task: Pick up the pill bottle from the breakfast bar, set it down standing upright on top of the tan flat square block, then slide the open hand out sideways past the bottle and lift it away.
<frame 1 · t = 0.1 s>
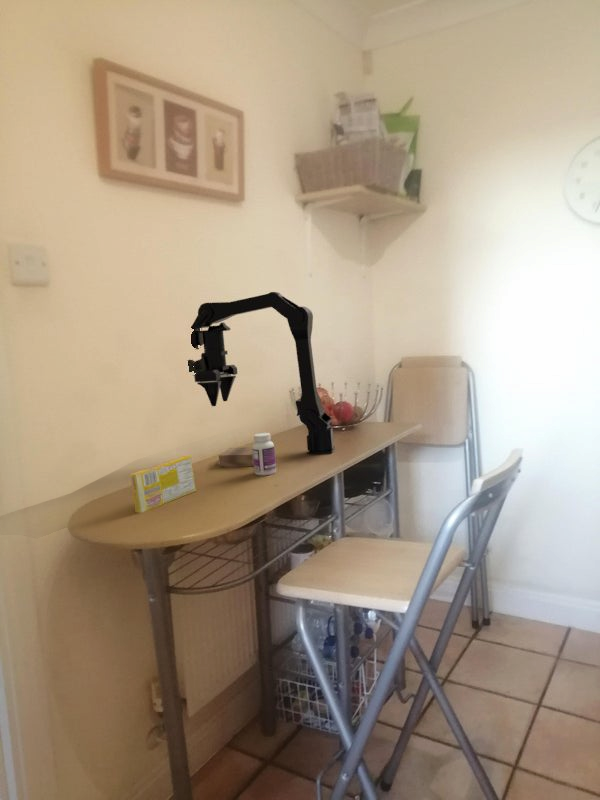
hand: (219, 403, 173), 15 cm above the table, tool pointing down, fingers open, 9 cm apart
pill bottle: (265, 473, 150), on the table
candy box: (166, 502, 132), on the table
tan flat square block: (241, 462, 164), on the table
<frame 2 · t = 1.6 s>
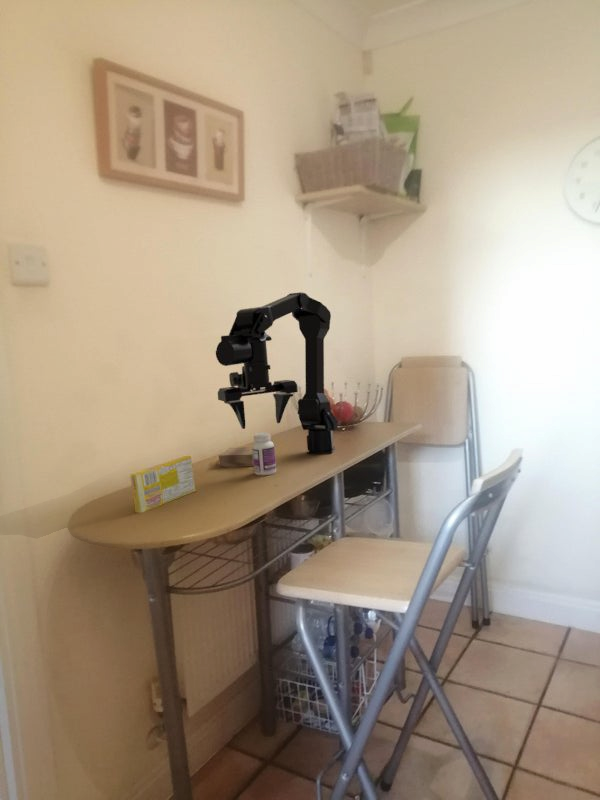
hand: (261, 425, 149), 12 cm above the table, tool pointing down, fingers open, 9 cm apart
nothing on the table moved.
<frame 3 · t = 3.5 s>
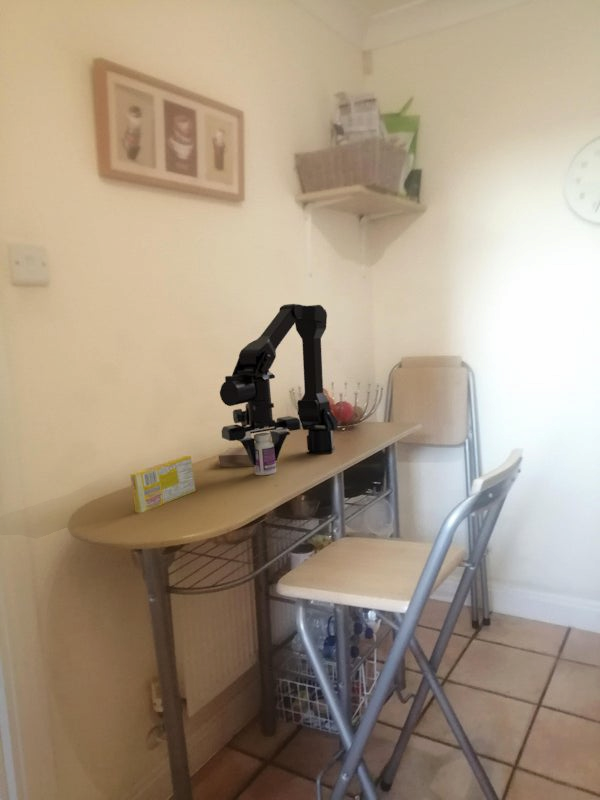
hand: (264, 462, 150), 3 cm above the table, tool pointing down, fingers closed on pill bottle, 5 cm apart
pill bottle: (265, 473, 150), on the table, touching gripper
everything else where it was.
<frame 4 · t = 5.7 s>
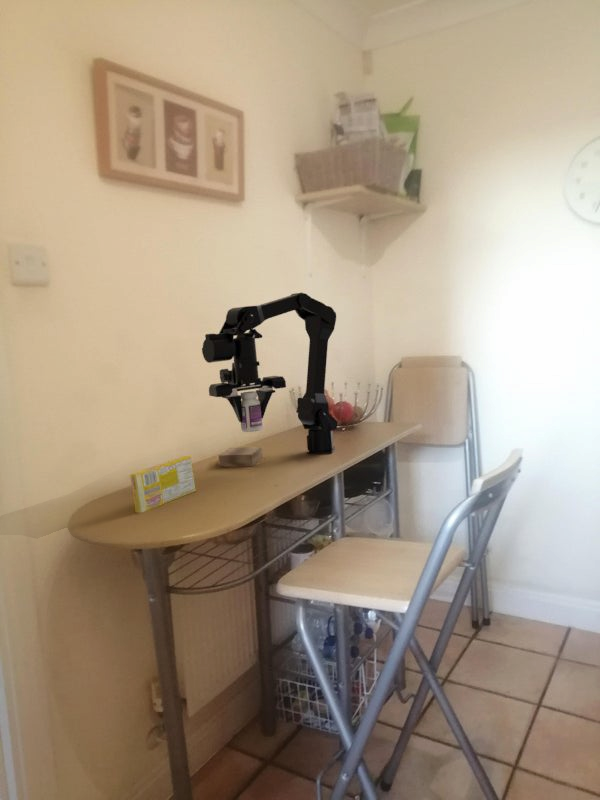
hand: (251, 420, 154), 12 cm above the table, tool pointing down, fingers closed on pill bottle, 5 cm apart
pill bottle: (252, 431, 154), point 10 cm above the table, touching gripper
everything else where it was.
when the fingers open (7 cm above the table, at t = 8.2 s): pill bottle drops 1 cm, resting on tan flat square block.
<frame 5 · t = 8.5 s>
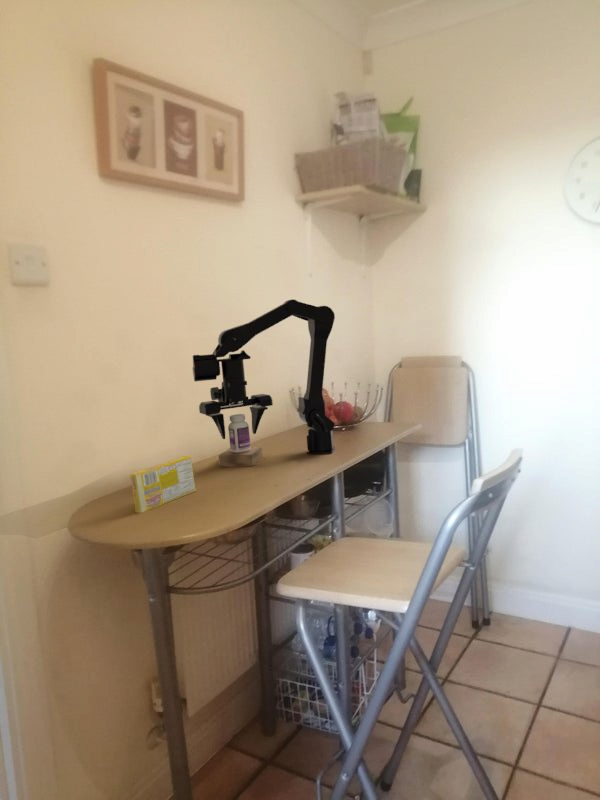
hand: (239, 436, 163), 7 cm above the table, tool pointing down, fingers open, 8 cm apart
pill bottle: (240, 451, 163), point 3 cm above the table, touching tan flat square block
everything else where it was.
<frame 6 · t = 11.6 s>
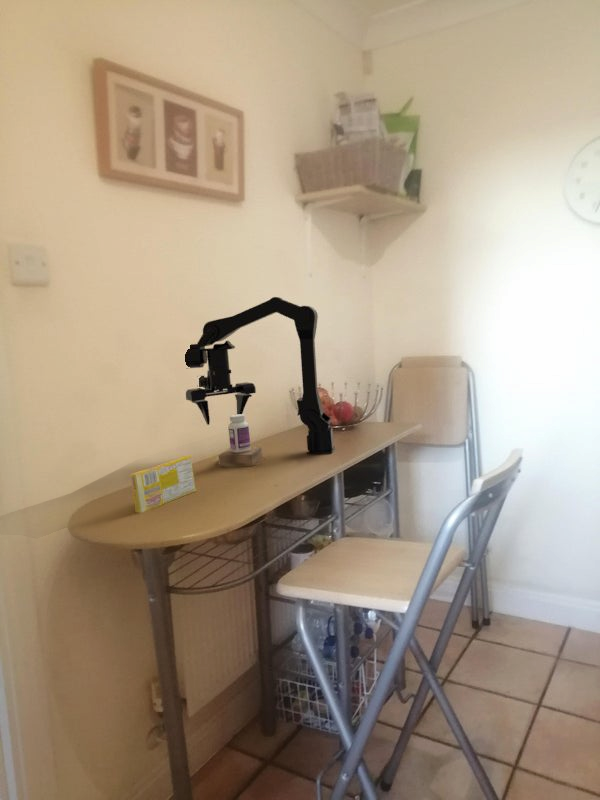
hand: (223, 422, 172), 10 cm above the table, tool pointing down, fingers open, 9 cm apart
nothing on the table moved.
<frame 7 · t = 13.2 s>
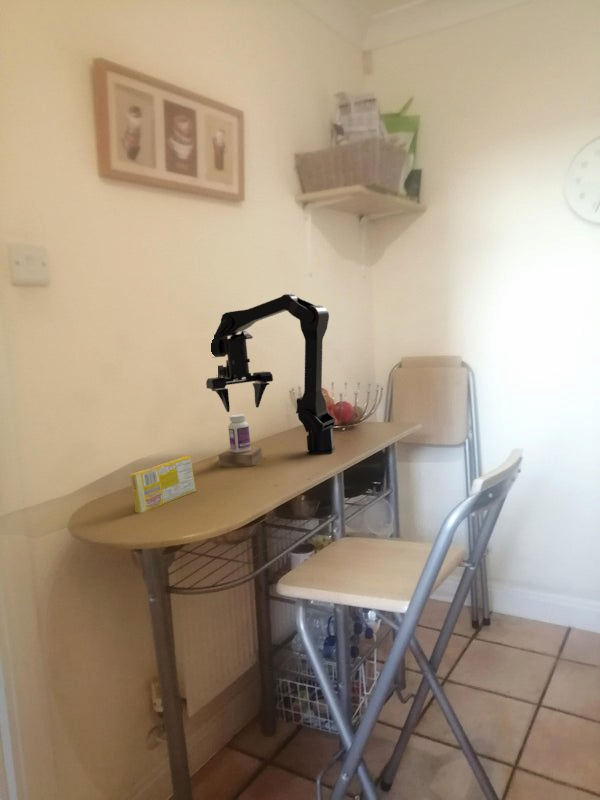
hand: (242, 409, 178), 12 cm above the table, tool pointing down, fingers open, 9 cm apart
nothing on the table moved.
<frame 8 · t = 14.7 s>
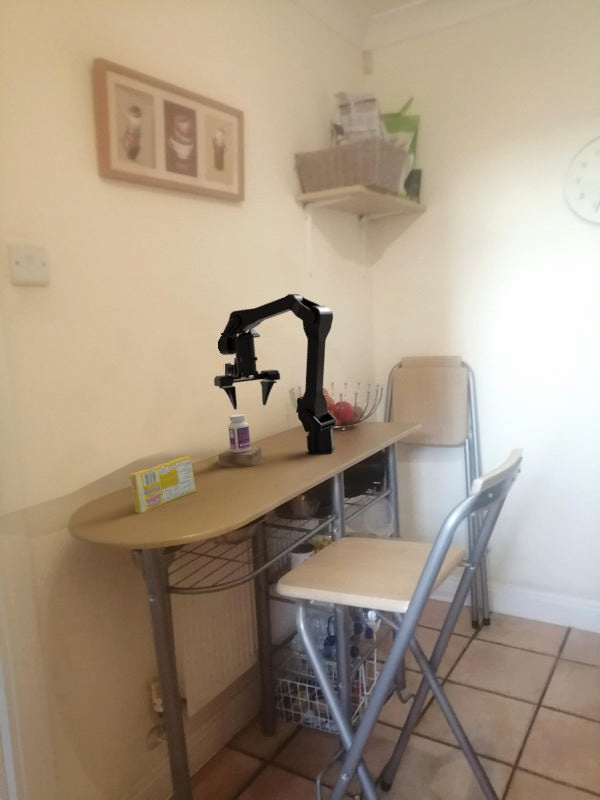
hand: (250, 407, 180), 12 cm above the table, tool pointing down, fingers open, 9 cm apart
nothing on the table moved.
at the end: pill bottle 0.1 cm off-centre on the tan flat square block, point 2.8 cm above the tan flat square block's base; pill bottle tilted 0°; pill bottle touching tan flat square block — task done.
